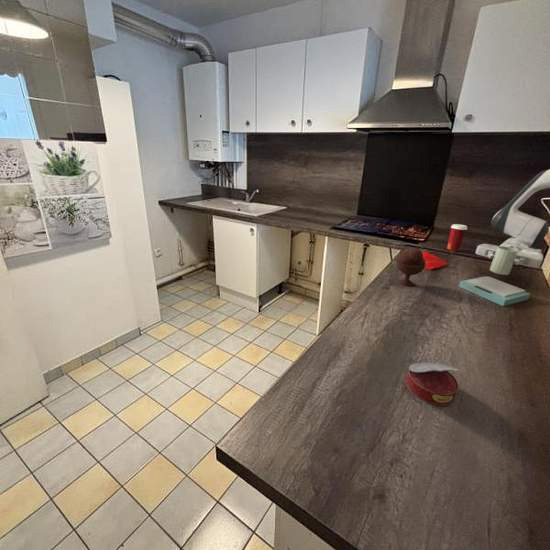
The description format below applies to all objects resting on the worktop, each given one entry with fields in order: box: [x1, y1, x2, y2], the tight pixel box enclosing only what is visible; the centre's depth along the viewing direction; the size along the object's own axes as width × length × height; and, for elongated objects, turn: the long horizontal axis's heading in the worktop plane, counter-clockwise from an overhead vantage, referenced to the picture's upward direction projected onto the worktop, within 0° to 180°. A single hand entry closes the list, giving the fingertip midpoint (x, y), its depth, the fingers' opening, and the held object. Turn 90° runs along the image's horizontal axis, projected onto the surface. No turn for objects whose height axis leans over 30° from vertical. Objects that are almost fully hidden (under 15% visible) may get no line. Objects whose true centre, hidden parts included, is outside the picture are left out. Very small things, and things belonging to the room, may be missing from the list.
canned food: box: [405, 361, 460, 406], centre depth 64 cm, size 11×10×10 cm
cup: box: [489, 245, 518, 276], centre depth 107 cm, size 6×6×9 cm
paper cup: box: [446, 223, 468, 251], centre depth 158 cm, size 8×8×14 cm
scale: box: [458, 275, 531, 307], centre depth 112 cm, size 17×15×3 cm
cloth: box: [422, 251, 448, 271], centre depth 142 cm, size 26×14×2 cm, turn 149°
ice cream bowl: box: [395, 248, 426, 287], centre depth 115 cm, size 11×11×15 cm
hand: (503, 259), depth 106 cm, fingers closed on cup, 6 cm apart
